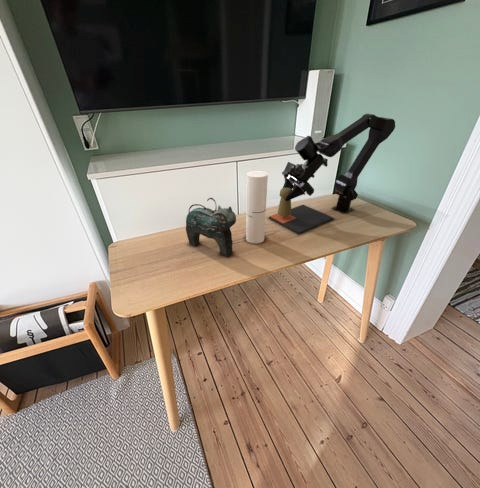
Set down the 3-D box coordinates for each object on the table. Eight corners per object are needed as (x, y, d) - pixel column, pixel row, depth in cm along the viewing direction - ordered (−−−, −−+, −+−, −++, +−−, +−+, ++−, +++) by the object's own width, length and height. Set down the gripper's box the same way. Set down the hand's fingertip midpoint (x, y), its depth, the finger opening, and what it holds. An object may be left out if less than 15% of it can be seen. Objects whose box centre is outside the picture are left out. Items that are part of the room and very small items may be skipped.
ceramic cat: (238, 252, 93) (237, 199, 81) (228, 261, 89) (225, 207, 77) (195, 238, 102) (188, 189, 89) (184, 246, 97) (175, 195, 85)
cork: (287, 217, 109) (289, 192, 102) (274, 214, 112) (276, 189, 105) (293, 212, 113) (296, 187, 106) (282, 209, 116) (283, 184, 109)
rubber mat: (302, 206, 125) (303, 204, 124) (333, 219, 113) (333, 217, 113) (268, 218, 115) (269, 216, 114) (298, 234, 103) (298, 232, 103)
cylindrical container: (263, 244, 98) (266, 177, 82) (244, 242, 99) (244, 176, 84) (265, 235, 103) (269, 171, 88) (247, 233, 104) (248, 170, 89)
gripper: (287, 148, 106) (262, 179, 110) (311, 160, 92) (281, 194, 96) (302, 166, 112) (277, 194, 116) (326, 179, 98) (297, 211, 102)
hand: (282, 198), depth 108 cm, fingers closed on cork, 5 cm apart
